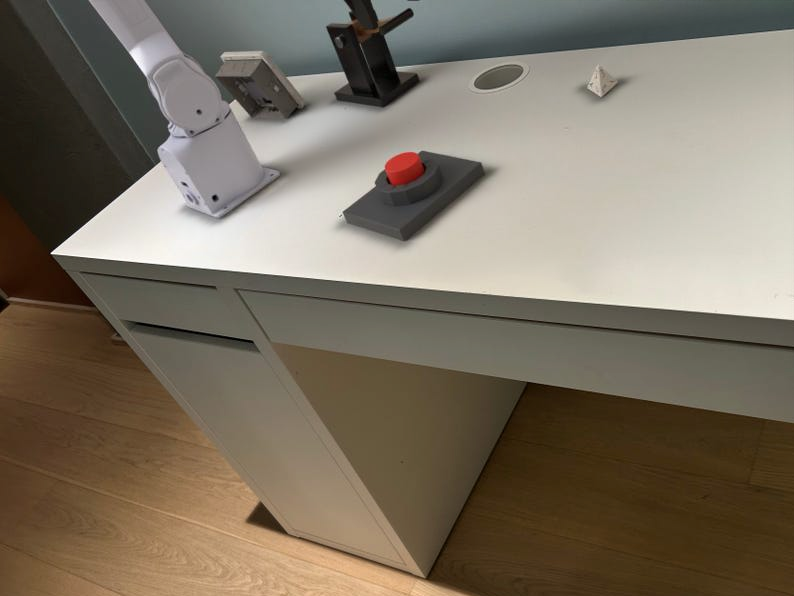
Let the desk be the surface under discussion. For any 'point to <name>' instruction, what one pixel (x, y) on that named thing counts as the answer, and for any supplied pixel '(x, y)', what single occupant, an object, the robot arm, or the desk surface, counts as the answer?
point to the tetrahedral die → (601, 82)
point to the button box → (413, 196)
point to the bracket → (367, 68)
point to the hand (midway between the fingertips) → (393, 13)
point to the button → (404, 168)
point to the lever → (382, 25)
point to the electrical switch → (258, 84)
